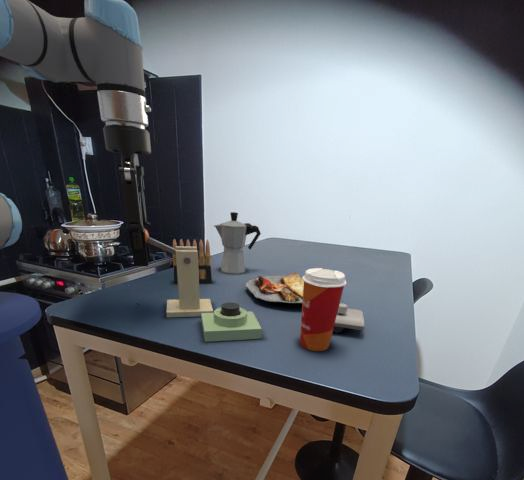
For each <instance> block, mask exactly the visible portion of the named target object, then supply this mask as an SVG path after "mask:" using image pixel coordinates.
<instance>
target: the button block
mask: <svg viewBox="0 0 524 480" xmlns="http://www.w3.org/2000/svg"><path fill="white" fill-rule="evenodd" d="M200 317H201V319H200V320H201V327H202V333H203V339H204V342H205V343H208V342H226V341H228V342H229V341H246V340H247V341H249V340H261V339H262V334H263V328H262V327H261V324H260V322H259V321H258V319H257V316H256V315H255V314H254V311H247V310H246V309H244V308H242V307H240V314H239V315H238V316H230V317H229V316H224V315H222V314H221V307H217V308H215V310H213V313H201V316H200Z"/></svg>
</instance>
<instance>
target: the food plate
mask: <svg viewBox="0 0 524 480" xmlns="http://www.w3.org/2000/svg"><path fill="white" fill-rule="evenodd" d="M302 278H303V276H300V275H299V273H298V272H294V273H291V274H288V275H283V274H282V275H281V274H280V275H275V274H273V275H257V277H253V278H250V279H249V280H248V281H246V282H245V284H244V286H245V287H246V288H247V290H248V291H249V292H250V293H251V294H253V296H254V297H255V298H256V299H259V300H263V301H266V302H274V303H280V304H290V305H291V304H292V305H295V304H296V305H297V304H302V302H303V287H304V281H303V279H302Z"/></svg>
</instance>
